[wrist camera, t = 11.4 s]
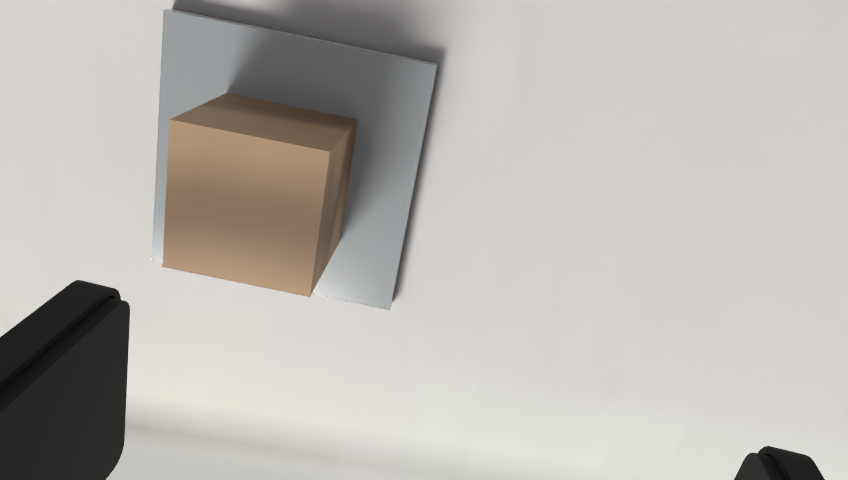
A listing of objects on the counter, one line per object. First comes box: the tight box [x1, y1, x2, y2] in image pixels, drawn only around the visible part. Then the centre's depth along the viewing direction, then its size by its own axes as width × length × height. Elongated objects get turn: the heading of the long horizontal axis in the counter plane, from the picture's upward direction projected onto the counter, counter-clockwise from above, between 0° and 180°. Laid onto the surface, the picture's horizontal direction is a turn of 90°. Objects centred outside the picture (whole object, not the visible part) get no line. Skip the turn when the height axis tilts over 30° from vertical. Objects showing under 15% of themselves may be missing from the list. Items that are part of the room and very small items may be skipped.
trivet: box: [152, 9, 438, 310], centre depth 33 cm, size 12×12×1 cm
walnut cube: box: [162, 93, 358, 297], centre depth 29 cm, size 6×6×6 cm
